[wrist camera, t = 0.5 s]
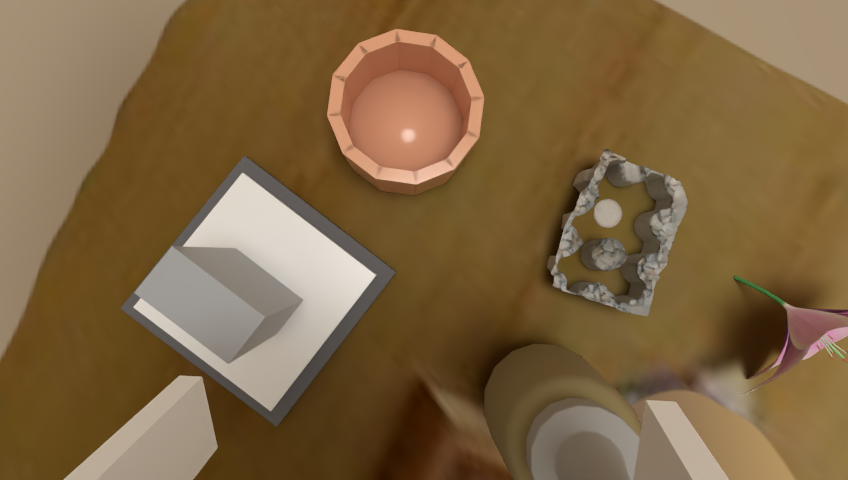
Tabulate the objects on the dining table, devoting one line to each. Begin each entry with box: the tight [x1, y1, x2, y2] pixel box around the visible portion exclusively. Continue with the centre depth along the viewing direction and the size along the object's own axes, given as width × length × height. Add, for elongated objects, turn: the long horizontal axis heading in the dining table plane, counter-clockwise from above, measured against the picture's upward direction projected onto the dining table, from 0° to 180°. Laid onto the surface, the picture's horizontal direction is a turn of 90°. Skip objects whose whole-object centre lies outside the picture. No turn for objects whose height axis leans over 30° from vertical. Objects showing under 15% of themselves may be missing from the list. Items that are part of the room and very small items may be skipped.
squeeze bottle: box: [484, 344, 642, 480], centre depth 22 cm, size 8×8×18 cm
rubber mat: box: [120, 156, 396, 427], centre depth 30 cm, size 14×14×1 cm
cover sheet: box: [133, 173, 377, 411], centre depth 25 cm, size 12×12×9 cm
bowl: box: [327, 29, 484, 196], centre depth 29 cm, size 10×10×5 cm
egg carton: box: [547, 149, 688, 316], centre depth 30 cm, size 11×8×4 cm
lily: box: [734, 276, 848, 396], centre depth 29 cm, size 12×12×10 cm
